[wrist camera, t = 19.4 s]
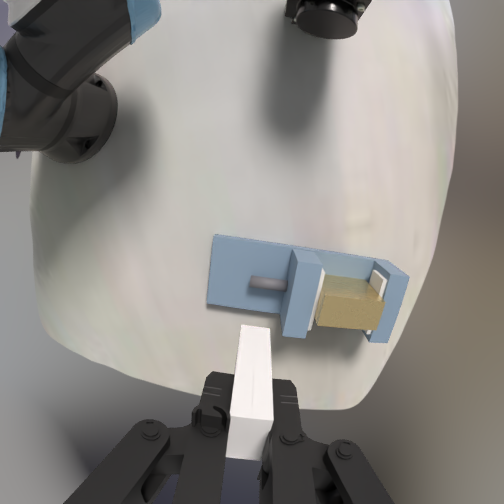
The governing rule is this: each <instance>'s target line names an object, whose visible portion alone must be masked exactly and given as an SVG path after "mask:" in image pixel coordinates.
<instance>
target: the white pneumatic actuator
mask: <svg viewBox="0 0 504 504" xmlns="http://www.w3.org/2000/svg"><path fill="white" fill-rule="evenodd" d="M371 1H372V0H287V1H286V8H285V16H286V17H292V24H297V25H298V27H299V28H300V29H302V30H303V31H305V32H306V33H307V34H310V35H313V36H317V37H321V38H326V39H345V38H349V37H351V36H353V35H354V34H355V33H356V32H357V26H358V20H359V19H360V17H361V16H362V14H363V13H364V11H365V10H366V8H367V7H368V5H369V4H370V3H371Z"/></svg>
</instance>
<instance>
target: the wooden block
mask: <svg viewBox="0 0 504 504" xmlns="http://www.w3.org/2000/svg"><path fill="white" fill-rule="evenodd" d="M385 303H386V302H385V301H384V300H383V298H382V297H381V296H380V295H379V294H378V293H377V292H376V291H375V290H374V288H373V287H372V286H371V285H370V284H369V283H368V282H367V281H366V280H364V279H357V278H349V277H342V276H335V275H328V274H325V276H324V280H323V284H322V288H321V293H320V297H319V301H318V305H317V309H316V313H315V320H316V323H317V326H327V327H338V328H349V329H362V330H377V327H378V324H379V321H380V318H381V315H382V312H383V309H384V306H385Z"/></svg>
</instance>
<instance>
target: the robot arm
mask: <svg viewBox="0 0 504 504" xmlns="http://www.w3.org/2000/svg"><path fill="white" fill-rule="evenodd" d="M3 1H4V2H6V3H7V4H8V6H9V14H8V25H9V26H10V27H12V28H13V29H15V30H16V33H15V34H14V35H13V36H12V37H11V38H10V40H9V41H8V42H7V43H6V44H5V45H4V47H2V46H0V152H9V151H11V152H12V151H39V152H41V153H43V154H44V155H46V156H48V157H49V158H51V159H53V160H54V161H57V162H60V163H78V162H82V161H84V160H87V159H88V158H90V157H92V156H93V155H94V154H95V153H97V152H98V151H99V150H100V149H101V147H102V146H103V145H104V144H105V142H106V141H107V139H108V137H109V136H110V134H111V131H112V129H113V127H114V124H115V120H116V115H117V97H116V93H115V90H114V88H113V86H112V85H111V83H110V82H109V81H108V80H107V79H105V78H104V77H102V76H100V75H98V74H96V73H95V72H96V71H97V70H98V69H99V68H100V67H101V66H103V65H104V64H105V63H106V62H107V61H109V60H110V59H111V58H112V57H114V56H115V55H116V54H117V53H119V52H120V51H121V50H123V49H124V48H125V47H127V46H128V45H129V44H130V45H132V44H133V43H134V42H135V41H136V39H137V38H138V37H140V36H141V35H142V34H143V33H145V32H146V31H148V30H149V29H150V28H152V27H153V26H154V25H155V24H156V23H157V22H158V21H159V19H160V17H161V5H160V1H159V0H3ZM226 457H231V458H240V459H250V460H261V458H262V466H261V469H260V472H259V475H258V478H257V480H260V491H259V504H394V502H393V501H392V499H391V497H390V496H389V495H388V493H387V491H386V489H385V488H384V486H383V485H382V483H381V481H380V480H379V478H378V477H377V475H376V474H375V472H374V470H373V469H372V467H371V465H370V464H369V462H368V461H367V459H366V457H365V456H364V454H363V453H362V451H361V449H360V448H359V447H358V446H357V445H356V444H355V443H353V442H352V441H349V440H336V441H334V442H332V443H331V444H330V445H327V444H323V443H319V442H316V441H313V440H311V439H310V438H308V437H307V436H306V434H305V433H304V432H303V431H302V428H301V421H300V412H299V405H298V398H297V391H296V387H295V386H294V384H293V383H292V382H291V380H281V379H272V366H271V343H270V328H263V327H255V326H248V325H241V331H240V338H239V345H238V352H237V358H236V365H235V372H234V374H227V373H220V372H214V371H212V372H211V373H210V374H209V375H208V376H207V377H206V381H205V384H204V388H203V392H202V396H201V400H200V404H199V405H198V406H196V407H195V408H194V409H193V411H192V423H191V424H189V425H187V426H184V427H179V428H167V427H166V426H165V425H164V424H163V423H161V422H159V421H156V420H149V419H147V420H142V421H140V422H138V423H137V424H135V425H134V426H133V428H132V429H131V430H130V431H129V432H128V433H127V434H126V435H125V437H124V438H123V439H122V440H121V441H120V442H119V443H118V444H117V446H116V447H115V448H114V449H113V450H112V451H111V452H110V453H109V454H108V456H107V457H106V458H105V459H104V460H103V461H102V462H101V463H100V464H99V465H98V467H97V468H96V469H95V470H94V471H93V472H92V473H91V474H90V475H89V476H88V478H87V479H86V480H85V481H84V482H83V483H82V484H81V485H80V486H79V487H78V488H77V489H76V490H75V492H74V493H73V494H72V495H71V496H70V497H69V498H68V499H67V500H66V501H65V502H64V503H63V504H152V503H153V501H154V500H155V499H156V497H157V495H158V494H159V493H160V491H161V490H162V488H163V486H164V485H165V484H166V482H167V480H168V479H169V477H170V476H171V474H179V478H178V482H177V486H176V491H175V494H174V498H173V502H172V504H220V499H221V490H222V483H223V474H224V466H225V458H226Z"/></svg>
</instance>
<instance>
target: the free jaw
mask: <svg viewBox="0 0 504 504" xmlns="http://www.w3.org/2000/svg"><path fill="white" fill-rule="evenodd" d="M322 267H323V264H322V263H321V261H320V260H319V258H318V257H317V255H316V254H315V252H313V251H306V250H300V249H292V255H291V260H290V266H289V271H288V276H287V280H281V279H274V278H267V277H260V276H253V275H251V278H250V285H249V287H253V288H260V289H267V290H274V291H282V292H284V297H283V302H282V306H281V311H280V321H281V329H282V336H286V337H295V338H306V334H307V330H311V328H312V325H313V321H314V317H315V313H316V309H317V305H318V301H319V297H320V293H321V288H322V284H323V280H324V276H325V271H324V270H323V268H322Z"/></svg>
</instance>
